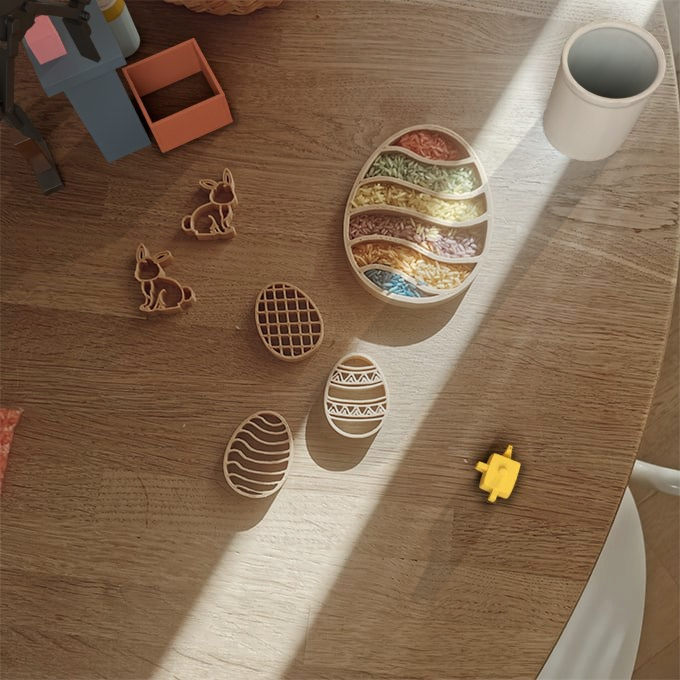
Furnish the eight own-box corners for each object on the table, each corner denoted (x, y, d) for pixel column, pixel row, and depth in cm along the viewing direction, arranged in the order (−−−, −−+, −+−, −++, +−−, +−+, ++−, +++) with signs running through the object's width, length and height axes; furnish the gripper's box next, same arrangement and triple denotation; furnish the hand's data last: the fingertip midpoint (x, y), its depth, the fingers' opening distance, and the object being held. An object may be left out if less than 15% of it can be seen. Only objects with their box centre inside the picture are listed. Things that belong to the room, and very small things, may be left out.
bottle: (144, 58, 133) (116, -6, 118) (106, 67, 132) (74, 3, 118) (139, 28, 135) (110, -38, 121) (101, 37, 135) (69, -29, 121)
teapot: (483, 441, 106) (488, 434, 101) (522, 457, 105) (528, 450, 100) (464, 493, 104) (469, 488, 99) (503, 509, 103) (509, 505, 98)
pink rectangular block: (40, 64, 103) (27, 44, 99) (32, 44, 104) (18, 24, 101) (67, 53, 104) (55, 33, 100) (58, 33, 105) (46, 12, 101)
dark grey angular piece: (48, 200, 124) (18, 163, 113) (30, 155, 127) (-1, 115, 117) (68, 191, 124) (39, 154, 114) (49, 147, 127) (20, 107, 117)
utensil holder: (618, 178, 120) (656, 111, 103) (528, 156, 122) (552, 87, 105) (635, 106, 124) (675, 30, 107) (548, 86, 126) (574, 9, 110)
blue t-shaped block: (103, 180, 124) (42, 88, 102) (80, 128, 128) (16, 27, 106) (168, 152, 126) (122, 54, 103) (143, 101, 129) (93, -5, 107)
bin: (164, 157, 125) (150, 127, 117) (137, 100, 130) (121, 68, 122) (234, 126, 127) (224, 94, 119) (205, 71, 131) (193, 37, 123)
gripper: (-65, 66, 71) (31, 182, 91) (76, -108, 78) (137, 35, 98) (-125, 40, 73) (-17, 159, 93) (19, -129, 79) (91, 16, 99)
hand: (62, 96), depth 95 cm, fingers open, 13 cm apart
